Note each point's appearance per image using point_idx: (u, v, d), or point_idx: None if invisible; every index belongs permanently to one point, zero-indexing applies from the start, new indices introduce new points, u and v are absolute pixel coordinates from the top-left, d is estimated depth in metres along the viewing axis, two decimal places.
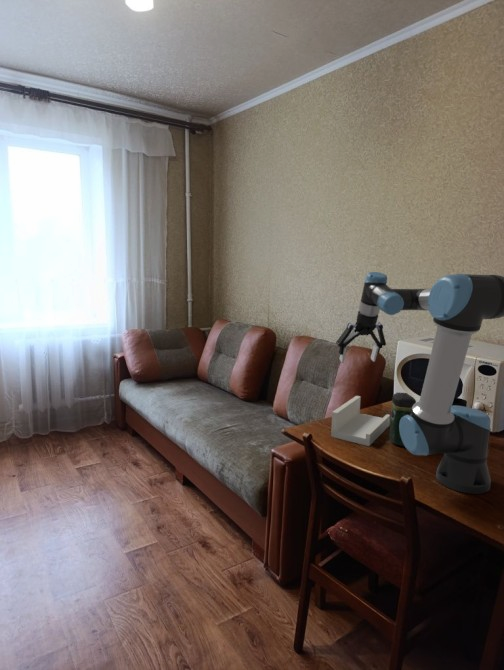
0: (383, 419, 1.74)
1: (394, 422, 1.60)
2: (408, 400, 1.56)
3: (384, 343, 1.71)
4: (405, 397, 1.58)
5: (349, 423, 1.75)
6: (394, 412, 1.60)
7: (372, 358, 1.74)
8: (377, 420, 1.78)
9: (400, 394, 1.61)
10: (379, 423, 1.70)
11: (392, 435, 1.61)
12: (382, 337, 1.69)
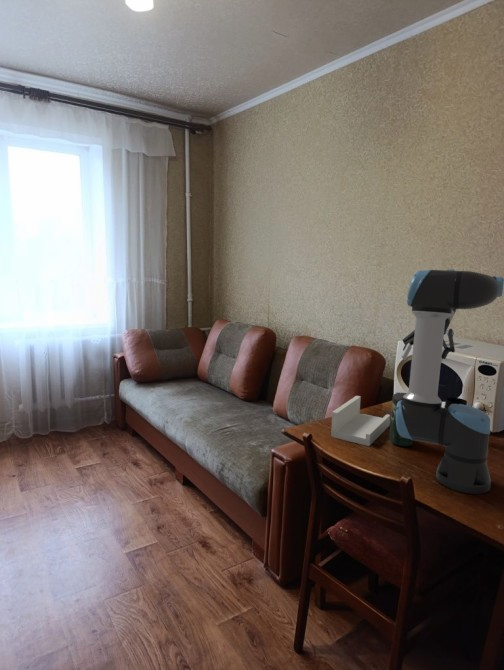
0: (383, 419, 1.74)
1: (394, 422, 1.60)
2: None
3: (451, 346, 1.61)
4: None
5: (349, 423, 1.75)
6: (394, 412, 1.60)
7: None
8: (377, 420, 1.78)
9: (400, 394, 1.61)
10: (379, 423, 1.70)
11: (392, 435, 1.61)
12: (450, 340, 1.63)
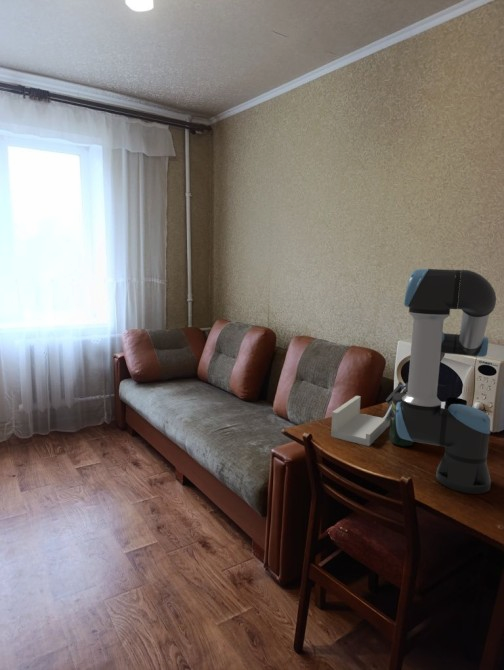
0: (383, 419, 1.74)
1: (394, 422, 1.60)
2: None
3: None
4: None
5: (349, 423, 1.75)
6: (394, 412, 1.60)
7: None
8: (377, 420, 1.78)
9: (400, 394, 1.61)
10: (379, 423, 1.70)
11: (392, 435, 1.61)
12: None
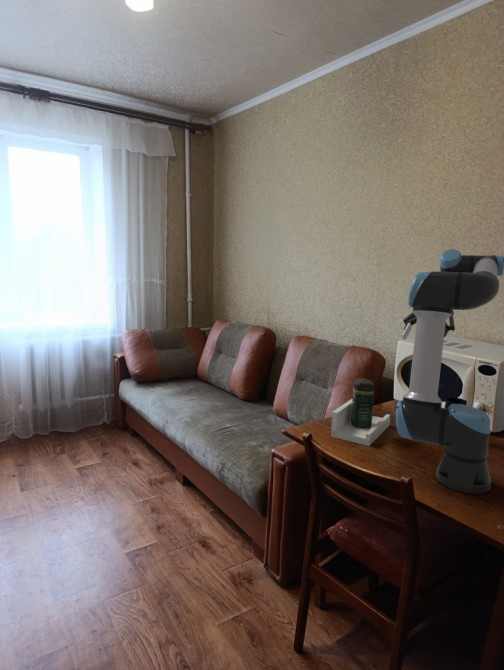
0: (383, 419, 1.74)
1: (354, 405, 1.70)
2: (366, 384, 1.67)
3: (451, 324, 1.62)
4: (364, 382, 1.68)
5: (349, 423, 1.75)
6: (354, 396, 1.70)
7: None
8: (377, 420, 1.78)
9: (360, 379, 1.72)
10: (379, 423, 1.70)
11: (352, 418, 1.71)
12: (450, 318, 1.64)
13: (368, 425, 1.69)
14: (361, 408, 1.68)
